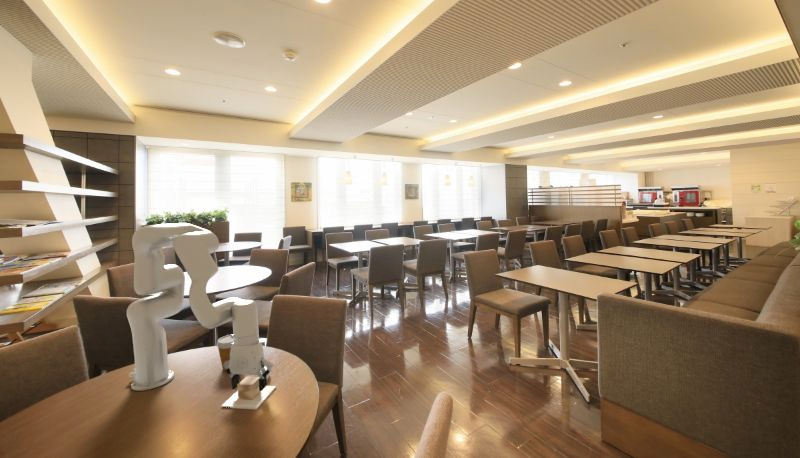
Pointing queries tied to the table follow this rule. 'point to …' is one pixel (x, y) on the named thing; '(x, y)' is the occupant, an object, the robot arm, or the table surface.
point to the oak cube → (248, 388)
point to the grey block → (262, 373)
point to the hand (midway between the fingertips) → (249, 387)
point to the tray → (249, 404)
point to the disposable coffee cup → (225, 348)
